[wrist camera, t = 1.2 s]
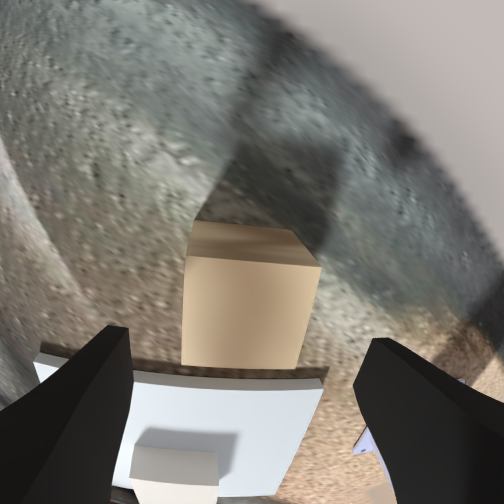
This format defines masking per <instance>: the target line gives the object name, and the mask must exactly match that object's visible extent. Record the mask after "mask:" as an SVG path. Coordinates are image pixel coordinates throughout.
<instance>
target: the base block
mask: <svg viewBox="0 0 504 504" xmlns="http://www.w3.org/2000/svg"><path fill="white" fill-rule="evenodd" d="M129 479H130V482H131V484H132V487H133V489H134V491H135V494H136V496H137V499H138V501H139V503H140V504H216V502H217V496H218V490H219V478H218V463H217V452H198V451H183V450H172V449H162V448H153V447H146V446H139V445H134V449H133V455H132V461H131V468H130V475H129Z"/></svg>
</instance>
